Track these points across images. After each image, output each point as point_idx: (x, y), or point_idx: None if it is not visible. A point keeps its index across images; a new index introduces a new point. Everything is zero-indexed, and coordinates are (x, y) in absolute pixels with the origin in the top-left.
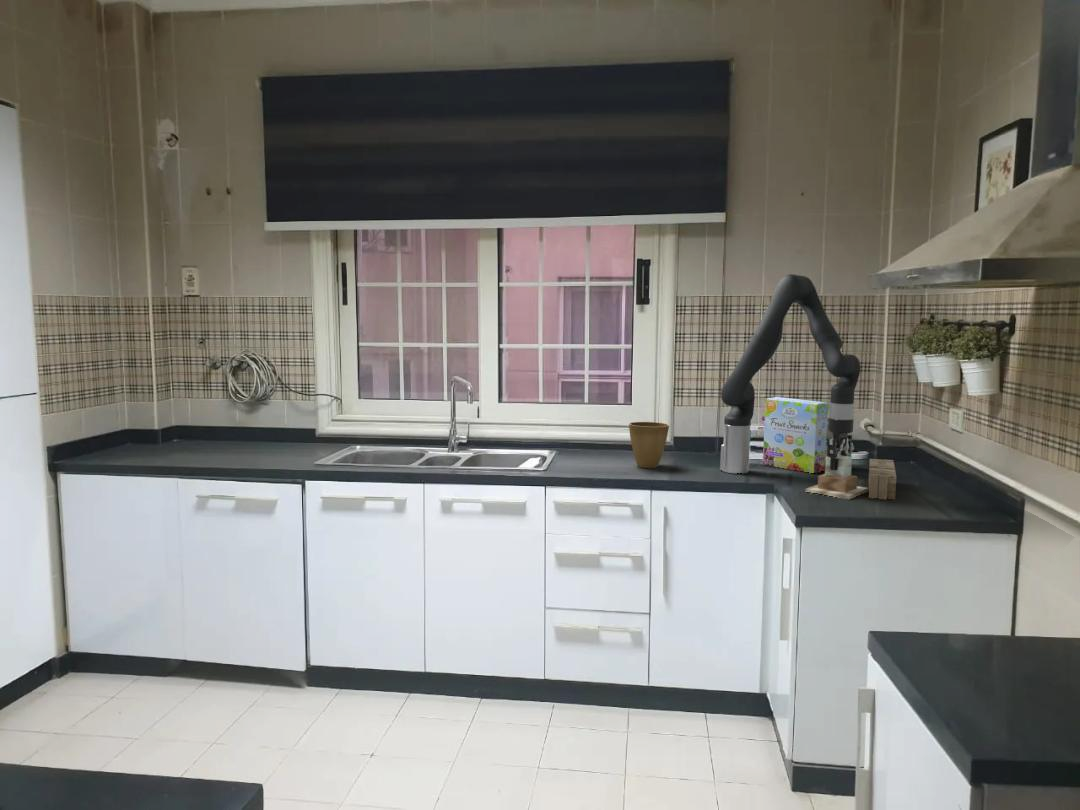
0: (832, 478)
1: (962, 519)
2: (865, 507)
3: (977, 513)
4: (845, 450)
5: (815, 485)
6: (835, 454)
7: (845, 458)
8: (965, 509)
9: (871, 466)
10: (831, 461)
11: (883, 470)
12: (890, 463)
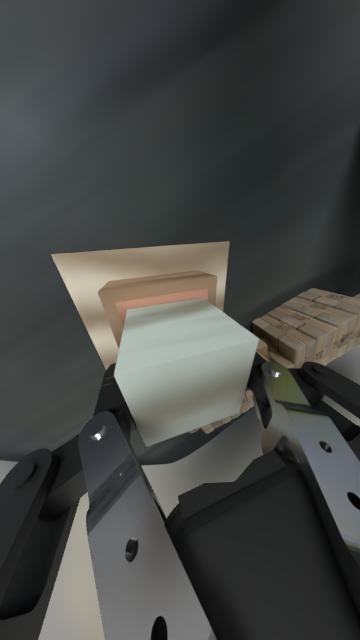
0: (118, 345)
1: (150, 457)
2: (84, 411)
3: (190, 443)
4: (264, 433)
5: (142, 249)
6: (61, 514)
7: (175, 432)
8: (199, 433)
9: (294, 352)
10: (100, 402)
11: (252, 394)
12: (341, 351)
